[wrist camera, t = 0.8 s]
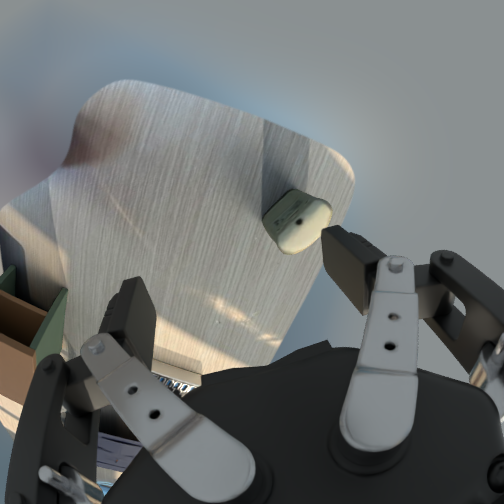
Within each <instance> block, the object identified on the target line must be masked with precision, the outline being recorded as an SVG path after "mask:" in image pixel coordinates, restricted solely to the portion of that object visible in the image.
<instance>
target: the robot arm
mask: <svg viewBox="0 0 504 504" xmlns="http://www.w3.org/2000/svg"><path fill="white" fill-rule="evenodd" d="M321 241H322V253H323V263H324V267H325V270H326V272H327V273H328V275H329V276H330V277H331V278H332V279H333V281H334V282H335V283H336V284H337V285H338V286H339V288H340V289H341V290H342V291H343V292H344V294H345V295H346V296H347V297H348V298H349V300H350V301H351V302H352V303H353V305H354V306H355V307H356V308H357V309H358V311H359V312H360V313H361V314H362V316H363V315H366V314H368V316H367V321H366V325H365V330H364V335H363V339H362V343H361V348H360V349H358V348H350V347H338V348H332V347H331V345H330V343H329V342H328V340H325V341H322V342H319V343H316V344H313V345H310V346H307V347H304V348H301V349H298V350H296V351H294V352H292V353H290V354H289V355H287V356H285V357H283V358H281V359H279V360H277V361H275V362H273V363H271V364H269V365H267V366H258V367H244V368H231V369H226V370H222V371H218V372H214V373H209V374H205V375H201V386H198V387H196V388H195V389H193V390H191V391H190V392H188V393H187V394H185V395H184V396H183V397H182V398H181V399H180V398H179V397H177V396H176V395H175V394H174V393H173V392H172V391H171V390H170V389H168V388H167V387H166V386H165V385H164V384H163V383H162V382H161V381H160V380H159V379H157V378H156V377H155V376H154V375H153V374H152V373H151V371H152V359H153V347H154V337H155V328H156V311H155V308H154V305H153V303H152V300H151V298H150V296H149V294H148V291H147V289H146V287H145V284H144V282H143V280H142V278H141V277H140V276H138V277H134V278H130V279H127V280H124V281H123V283H122V286H121V289H120V291H119V293H117V294H115V295H114V296H113V298H112V299H111V300H110V301H109V304H108V306H107V310H106V312H105V315H104V316H105V317H104V318H103V320H102V323H101V326H100V329H99V332H98V334H96V335H94V336H92V337H91V338H89V339H88V340H87V341H86V342H85V343H84V344H83V346H82V347H81V350H80V354H81V356H78V357H76V358H74V359H72V360H69V361H67V362H65V360H64V359H63V357H62V356H61V355H60V354H56V353H55V354H50V355H48V356H46V357H45V358H43V359H42V360H41V361H40V362H39V364H38V365H37V367H36V370H35V372H34V375H33V378H32V381H31V384H30V387H29V390H28V393H27V396H26V399H25V402H24V406H23V409H22V412H21V416H20V420H19V423H18V427H17V431H16V435H15V440H14V444H13V449H12V454H11V459H10V464H9V470H8V476H7V483H6V492H5V504H504V437H503V433H502V428H501V423H502V422H503V421H504V290H503V289H502V288H501V287H500V286H498V285H497V284H496V283H495V282H494V281H492V280H491V279H490V278H489V277H487V276H486V275H485V274H483V273H482V272H481V271H480V270H478V269H477V268H476V267H474V266H473V265H472V264H470V263H469V262H468V261H466V260H465V259H464V258H462V257H461V256H460V255H458V254H457V253H454V252H452V251H448V250H439V251H435V252H433V253H432V254H431V257H430V264H425V265H416V266H414V264H413V263H412V262H411V260H409V259H408V258H405V257H402V256H396V255H393V256H387V255H386V254H384V253H383V252H382V251H380V250H379V249H378V248H377V247H375V246H373V245H372V244H371V243H370V242H368V241H367V240H366V239H365V238H363V237H362V236H361V235H357V234H355V233H352V232H350V233H348V232H347V231H346V230H344V229H343V228H342V227H341V226H339V225H335V226H331V227H327V228H323V229H322V230H321ZM455 296H456V297H457V298H458V299H459V300H460V301H461V302H462V303H463V304H464V306H465V309H466V316H464V315H463V314H462V313H461V312H460V311H459V310H458V309H457V308H456V307H455V306H454V305H453V304H454V300H455ZM419 319H423V320H424V321H425V322H426V323H427V324H428V325H429V327H430V328H431V329H432V330H433V331H434V332H435V333H436V335H437V336H438V337H439V338H440V340H441V341H442V342H443V343H444V344H445V345H446V347H447V348H448V349H449V350H450V352H451V353H452V354H453V355H454V356H455V358H456V359H457V360H458V361H459V363H460V364H461V365H462V366H463V368H464V369H465V370H466V372H467V373H468V374H469V375H470V376H469V382H470V384H469V383H465V382H461V381H458V380H455V379H452V378H448V377H445V376H442V375H439V374H435V373H432V372H429V371H426V370H422V369H420V368H417V357H418V324H419V321H418V320H419ZM110 404H111V405H112V406H113V408H114V409H115V411H116V412H117V413H118V415H119V416H120V417H121V419H122V420H123V421H124V422H125V424H126V425H127V426H128V428H129V429H130V430H131V431H132V433H133V434H134V435H135V436H136V437H137V439H138V440H139V441H140V442H141V443H142V445H143V447H142V448H141V450H140V451H139V452H138V454H137V455H136V456H135V458H134V459H133V460H132V462H131V463H130V464H129V465H128V467H127V468H126V469H125V471H124V472H123V473H122V474H121V476H120V477H119V478H118V480H117V481H116V482H115V483H114V485H113V486H112V487H111V488H110V490H109V491H108V492H107V494H106V495H105V496H104V494H103V491H102V489H101V488H100V486H99V485H98V484H96V468H97V446H98V431H99V420H100V410H101V408H103V407H105V406H108V405H110ZM62 406H63V407H64V408H65V409H66V410H67V413H66V418H65V424H64V426H63V424H62V422H61V417H60V414H61V409H62Z"/></svg>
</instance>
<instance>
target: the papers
mask: <svg viewBox="0 0 504 504" xmlns="http://www.w3.org/2000/svg"><path fill="white" fill-rule="evenodd" d="M142 447H143V445H142V443H141V442H137V441H133V440H128V439H124V438H120V437H116V436H112V435H108V434H104V433H101V432H98V446H97V466H98V467H102V468H107V469H111V470H115V471H119V472H124V471H125V469H126V468H127V467H128V465H129V464H130V463H131V462H132V460H133V459H134V458H135V456H136V455H137V454H138V452H139V451H140V450H141V448H142Z"/></svg>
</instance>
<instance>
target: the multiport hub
mask: <svg viewBox="0 0 504 504" xmlns="http://www.w3.org/2000/svg"><path fill="white" fill-rule="evenodd" d="M151 373H152V374H153V375H154V376H155V377H156V378H157V379H159V380H160V381H161V382H162V383H163V384H164V385H165V386H166V387H167V388H168V389H170V390H171V391H172V392H173V393H174V394H175V395H176V396H177V397H179V398H180V399H181V398H182V397H183V396H184V395H185V394H187V393H188V392H190V391H191V390H193V389H195V388H196V387H198V386H201V375H200V374H196V373H193V372H190V371H187V370H184V369H181V368H178V367H175V366H172V365H169V364H166V363H163V362H160V361H157V360H154V359H152V371H151Z"/></svg>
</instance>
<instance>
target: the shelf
mask: <svg viewBox="0 0 504 504" xmlns="http://www.w3.org/2000/svg"><path fill="white" fill-rule="evenodd" d="M15 279H16V266H14V265H11V266H10V267H9V268H8V269H7V270H6V271H5V272H4V273H3V274H2V275H1V276H0V394H1V395H3V396H5V397H7V398H9V399H11V400H13V401H15V402H17V403H19V404H21V405H23V406H24V402H25V399H26V396H27V393H28V390H29V387H30V384H31V381H32V378H33V375H34V372H35V370H36V367H37V365H38V364H39V362H40V361H41V360H42V359H43V358H45V357H46V356H48V355H50V354H55V353H56V354H60V352H61V350H62V340H63V328H64V318H65V309H66V301H67V294H68V290H67V289H65V288H62V290H61V291H60V293H59V295H58V296H57V298H56V300H55V301H54V303H53V305H52V306H51V308H50V310H49V312H46V311H44V310H42V309H39V308H37V307H35V306H33V305H31V304H29V303H26V302H24V301H22V300H20V299H18V298H16V297H15Z"/></svg>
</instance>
